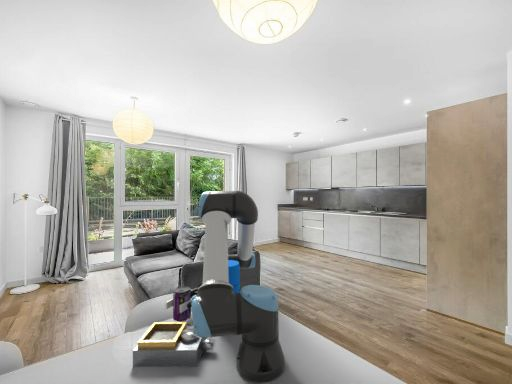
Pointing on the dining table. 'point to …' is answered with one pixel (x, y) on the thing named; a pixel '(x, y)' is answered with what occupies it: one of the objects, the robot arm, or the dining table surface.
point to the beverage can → (179, 298)
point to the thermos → (234, 275)
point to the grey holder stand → (170, 346)
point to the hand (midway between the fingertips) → (173, 307)
